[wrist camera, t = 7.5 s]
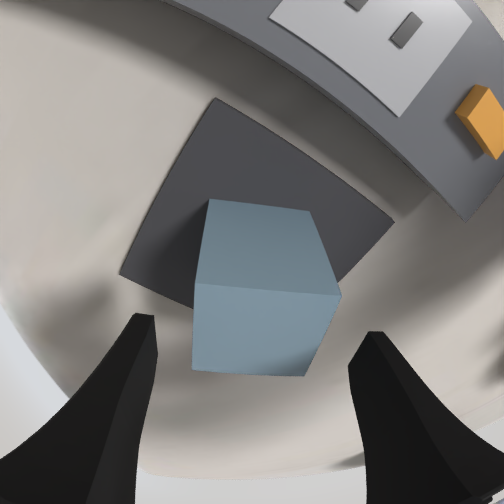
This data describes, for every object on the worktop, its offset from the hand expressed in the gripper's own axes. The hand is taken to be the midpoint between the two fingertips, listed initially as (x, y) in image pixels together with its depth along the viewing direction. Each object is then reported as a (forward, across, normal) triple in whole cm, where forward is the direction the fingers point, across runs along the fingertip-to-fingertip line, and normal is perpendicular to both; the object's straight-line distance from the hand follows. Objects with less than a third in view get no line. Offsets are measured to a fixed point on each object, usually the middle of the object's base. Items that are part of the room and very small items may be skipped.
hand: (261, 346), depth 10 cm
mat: (+6, 0, 0) cm, 6 cm away
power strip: (+6, +1, -12) cm, 14 cm away
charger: (+6, 0, 0) cm, 6 cm away
